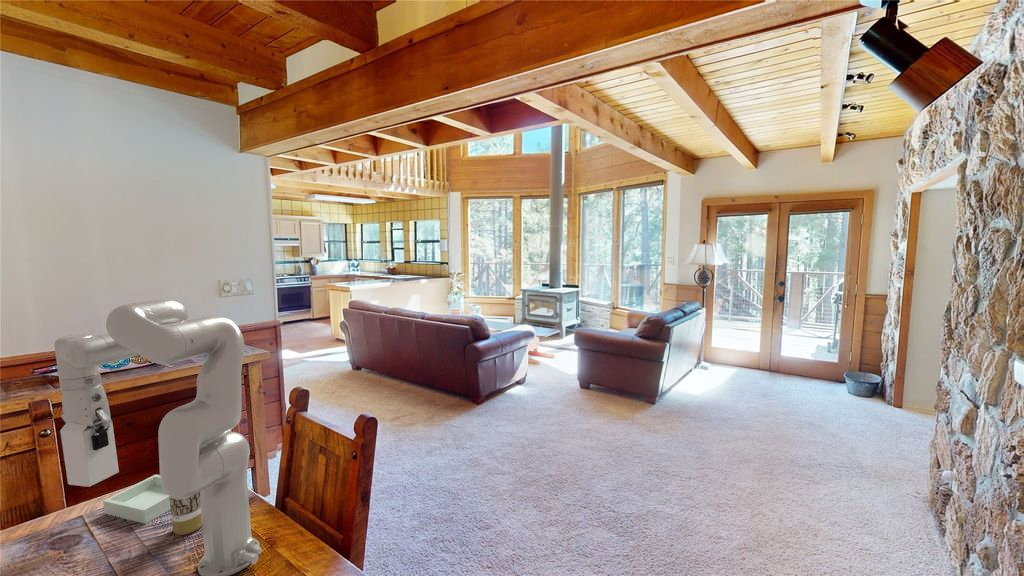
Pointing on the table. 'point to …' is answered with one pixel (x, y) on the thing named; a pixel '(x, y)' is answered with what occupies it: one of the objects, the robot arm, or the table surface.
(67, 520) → the table surface
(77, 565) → the table surface
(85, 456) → the milk carton
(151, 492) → the tray
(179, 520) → the paper tube
